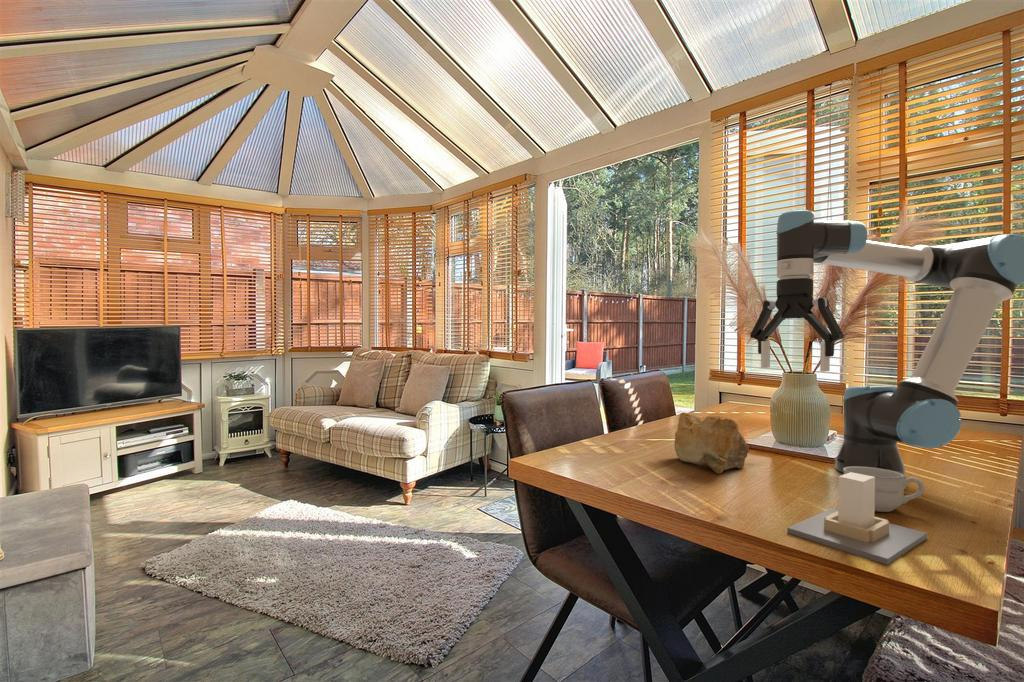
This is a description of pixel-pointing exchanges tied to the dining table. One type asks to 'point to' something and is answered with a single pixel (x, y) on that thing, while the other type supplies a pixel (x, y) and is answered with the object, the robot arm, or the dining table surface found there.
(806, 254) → the robot arm
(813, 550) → the dining table surface
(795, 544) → the dining table surface
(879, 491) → the teacup
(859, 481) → the plug
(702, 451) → the rough brown rock
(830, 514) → the socket plate
